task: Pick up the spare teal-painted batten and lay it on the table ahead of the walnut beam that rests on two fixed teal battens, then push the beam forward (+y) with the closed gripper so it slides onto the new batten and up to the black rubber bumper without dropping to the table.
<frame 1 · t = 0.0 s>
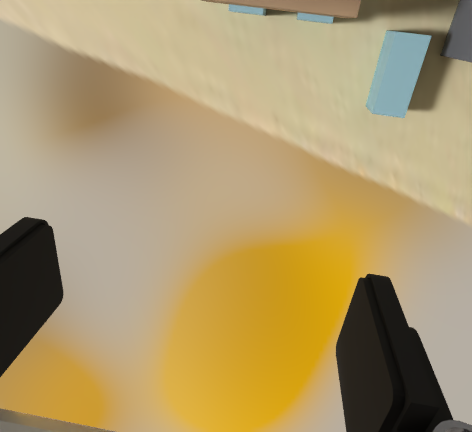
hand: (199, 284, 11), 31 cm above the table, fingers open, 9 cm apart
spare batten: (390, 71, 36), on the table
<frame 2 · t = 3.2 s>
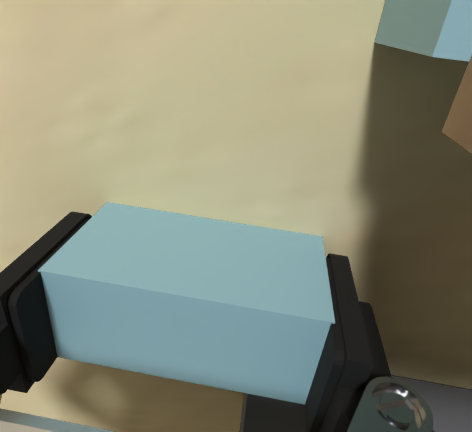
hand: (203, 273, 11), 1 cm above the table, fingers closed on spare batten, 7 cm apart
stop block: (371, 398, 14), on the table
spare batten: (209, 257, 12), on the table, touching gripper
when the fingers open (2 cm above the table, at t = 8.5 s): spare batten drops 1 cm, on the table.
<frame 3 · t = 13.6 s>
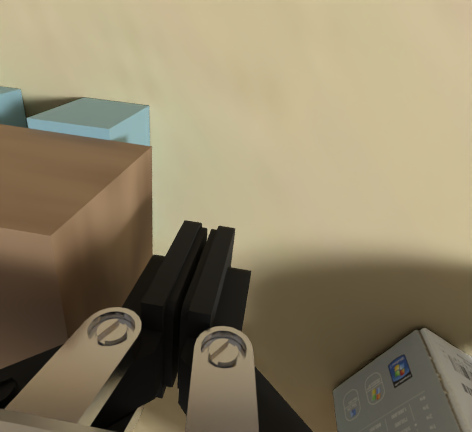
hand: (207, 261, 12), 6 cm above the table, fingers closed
slab: (5, 197, 14), point 4 cm above the table, touching gripper
hard drive box: (464, 411, 23), on the table
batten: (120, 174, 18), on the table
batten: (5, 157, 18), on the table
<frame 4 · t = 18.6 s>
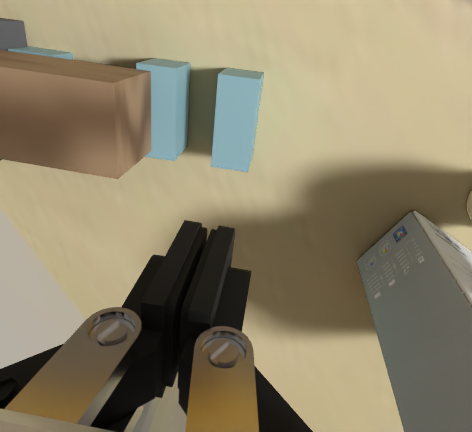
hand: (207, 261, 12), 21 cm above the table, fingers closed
slab: (76, 101, 28), point 4 cm above the table, touching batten, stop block
hard drive box: (440, 275, 36), on the table
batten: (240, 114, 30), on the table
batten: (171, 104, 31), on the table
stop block: (17, 82, 32), on the table
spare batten: (68, 98, 31), point 1 cm above the table, tilted 90°
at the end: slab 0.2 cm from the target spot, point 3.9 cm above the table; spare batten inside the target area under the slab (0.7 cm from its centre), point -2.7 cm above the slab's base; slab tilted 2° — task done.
